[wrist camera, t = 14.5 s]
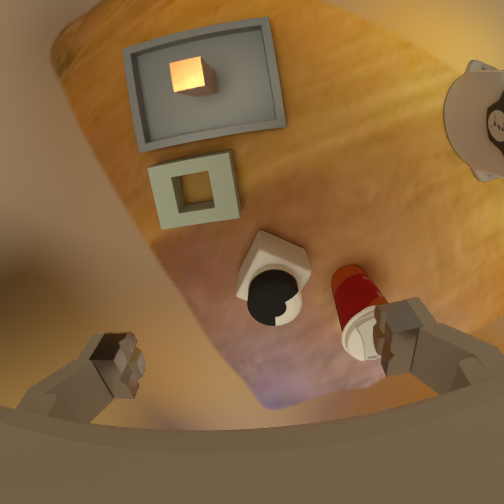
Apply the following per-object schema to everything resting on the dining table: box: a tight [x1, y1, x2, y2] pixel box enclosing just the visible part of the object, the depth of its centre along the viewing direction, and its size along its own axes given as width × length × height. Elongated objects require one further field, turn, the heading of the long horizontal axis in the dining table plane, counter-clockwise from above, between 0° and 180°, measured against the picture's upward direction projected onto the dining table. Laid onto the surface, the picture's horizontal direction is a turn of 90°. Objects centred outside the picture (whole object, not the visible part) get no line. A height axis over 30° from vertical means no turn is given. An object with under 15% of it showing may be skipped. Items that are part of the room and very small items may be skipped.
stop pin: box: [169, 56, 218, 97], centre depth 31 cm, size 3×3×10 cm
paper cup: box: [331, 265, 388, 361], centre depth 40 cm, size 8×8×14 cm
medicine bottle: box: [236, 230, 312, 326], centre depth 40 cm, size 7×7×12 cm
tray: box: [122, 17, 286, 153], centre depth 35 cm, size 18×14×3 cm
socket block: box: [147, 149, 241, 230], centre depth 40 cm, size 10×8×4 cm
